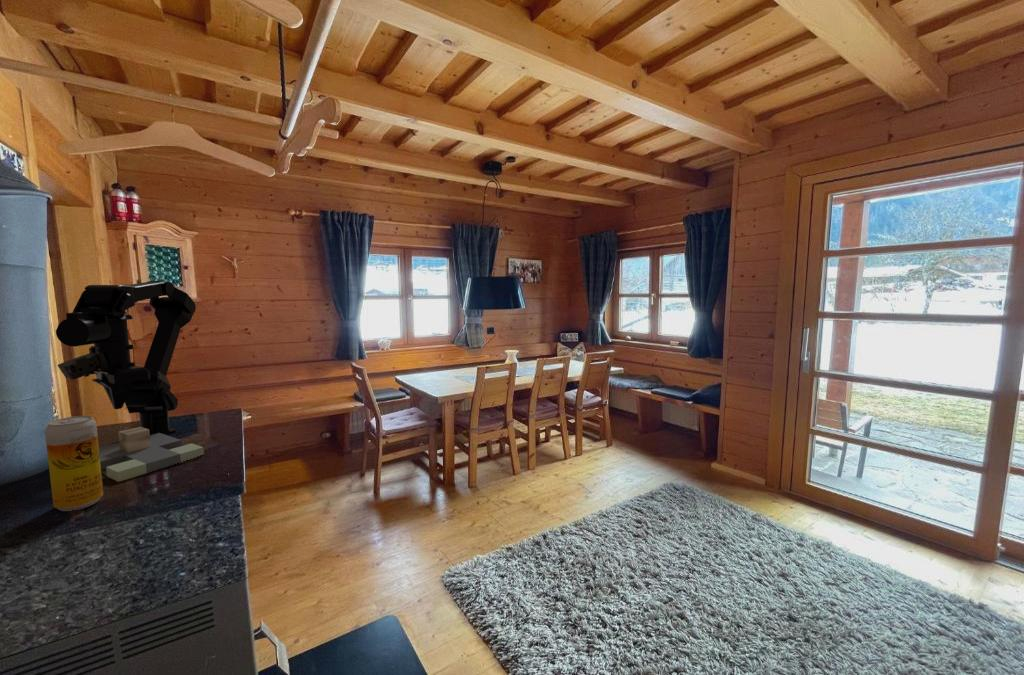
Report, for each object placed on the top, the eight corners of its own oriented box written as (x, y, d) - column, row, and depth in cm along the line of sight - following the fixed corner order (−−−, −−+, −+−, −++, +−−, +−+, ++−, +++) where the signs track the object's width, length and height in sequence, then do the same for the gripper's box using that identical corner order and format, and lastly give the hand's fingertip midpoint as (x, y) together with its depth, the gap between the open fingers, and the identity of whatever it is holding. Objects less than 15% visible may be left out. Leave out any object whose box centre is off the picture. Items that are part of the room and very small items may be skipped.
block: (119, 449, 93) (118, 431, 93) (142, 443, 97) (140, 426, 96) (128, 452, 92) (126, 434, 91) (150, 446, 95) (149, 429, 95)
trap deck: (76, 461, 91) (75, 453, 91) (159, 440, 105) (159, 432, 104) (118, 481, 82) (117, 472, 82) (203, 455, 95) (203, 447, 95)
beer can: (71, 514, 70) (62, 426, 68) (44, 510, 71) (34, 424, 70) (112, 497, 76) (105, 416, 74) (86, 494, 77) (78, 413, 76)
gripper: (44, 342, 92) (52, 411, 94) (79, 347, 84) (87, 424, 85) (111, 337, 102) (116, 400, 104) (148, 342, 93) (154, 411, 95)
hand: (117, 408), depth 97 cm, fingers closed
